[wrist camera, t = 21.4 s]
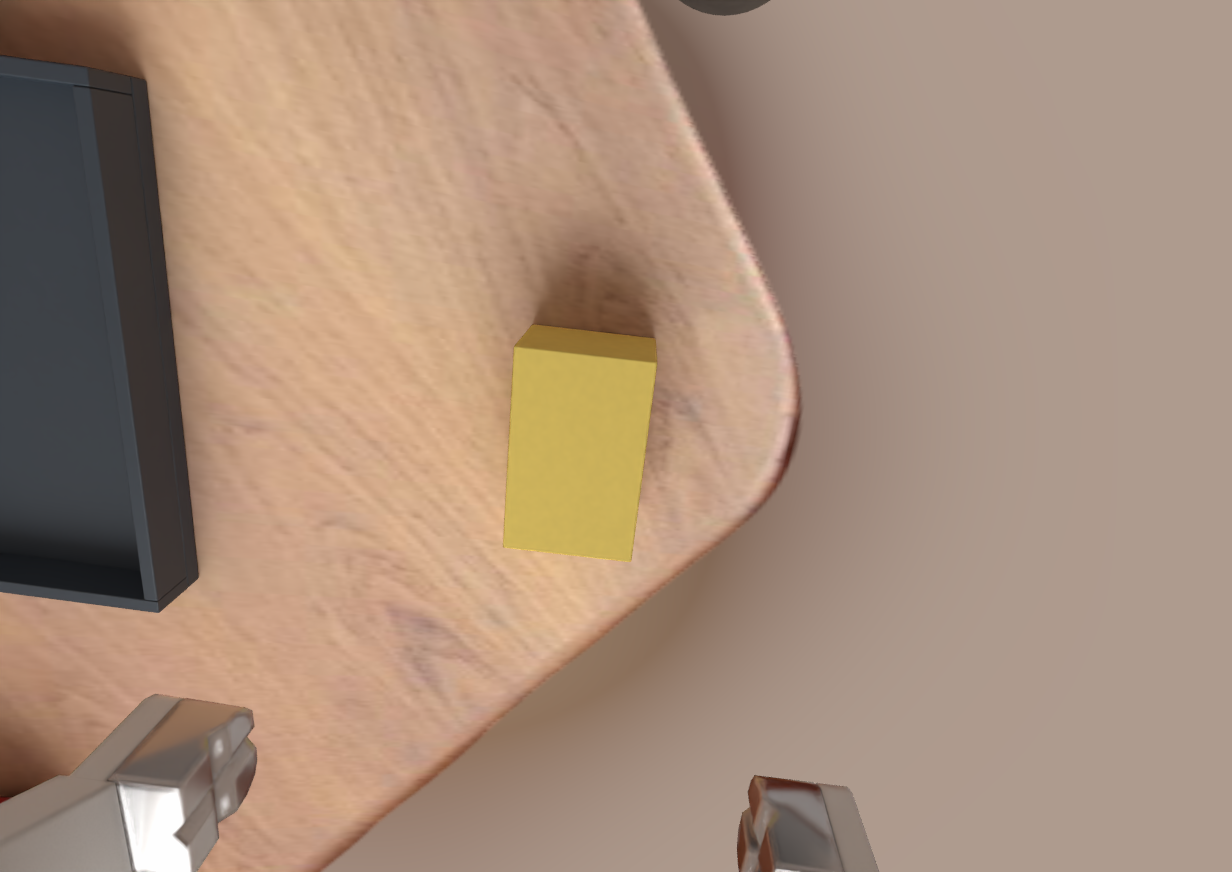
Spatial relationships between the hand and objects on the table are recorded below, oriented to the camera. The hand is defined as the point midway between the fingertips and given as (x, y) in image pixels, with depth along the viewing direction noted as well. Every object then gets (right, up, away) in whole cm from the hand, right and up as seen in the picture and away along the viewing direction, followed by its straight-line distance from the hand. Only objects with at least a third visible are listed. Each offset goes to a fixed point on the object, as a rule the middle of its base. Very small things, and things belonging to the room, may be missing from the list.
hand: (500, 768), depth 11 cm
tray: (-23, +9, +17) cm, 30 cm away
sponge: (+1, +6, +17) cm, 18 cm away
